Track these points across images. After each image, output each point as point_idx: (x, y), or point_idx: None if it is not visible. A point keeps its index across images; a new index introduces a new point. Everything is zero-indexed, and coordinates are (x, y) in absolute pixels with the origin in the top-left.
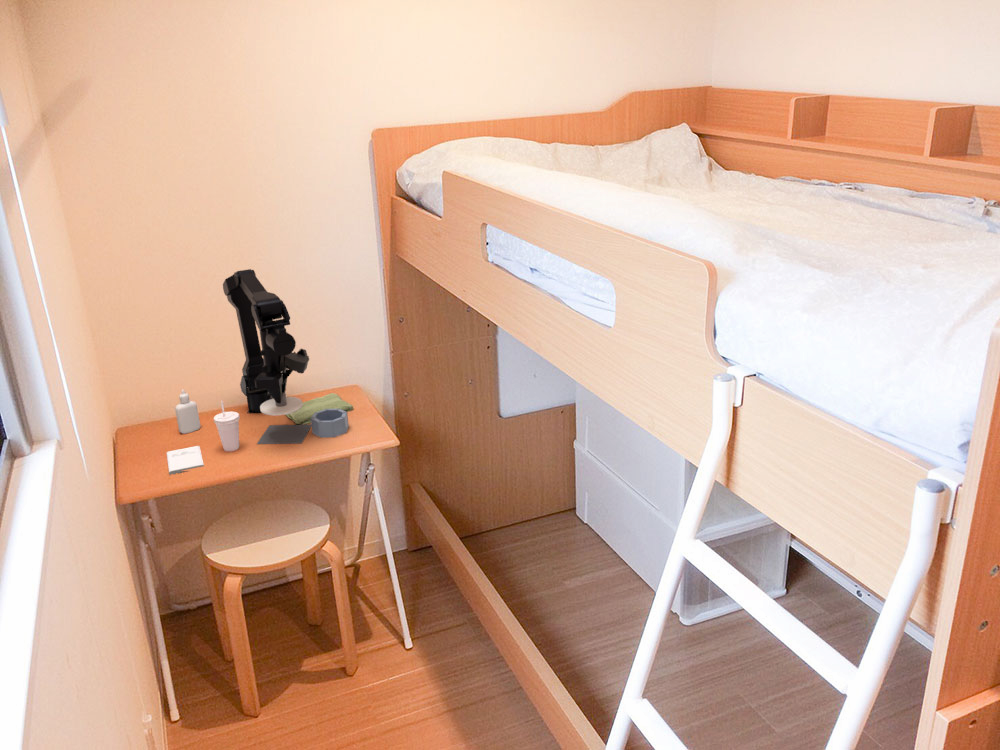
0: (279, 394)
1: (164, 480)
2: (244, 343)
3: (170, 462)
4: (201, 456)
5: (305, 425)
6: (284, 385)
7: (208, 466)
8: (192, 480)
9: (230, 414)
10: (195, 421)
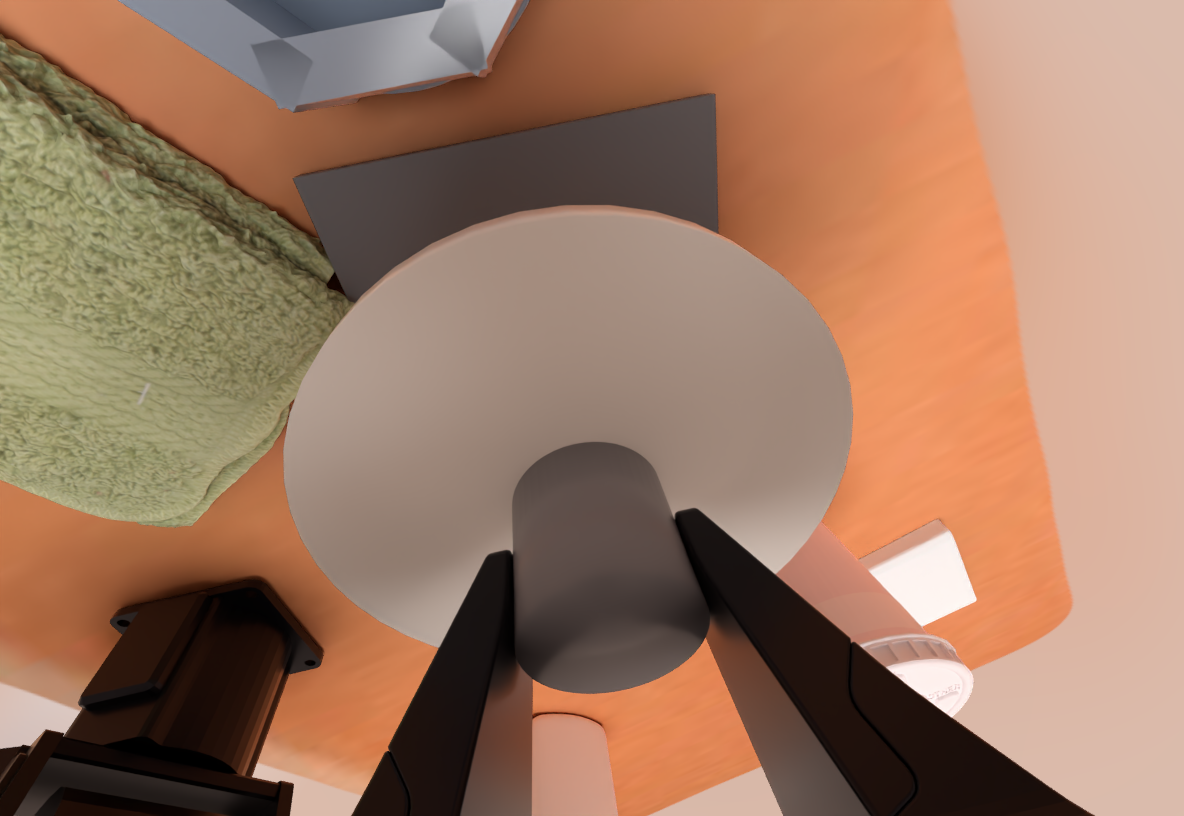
0: (827, 626)
1: (1006, 581)
2: None
3: None
4: None
5: (345, 236)
6: (478, 767)
7: (926, 512)
8: (1048, 499)
9: None
10: (563, 759)
